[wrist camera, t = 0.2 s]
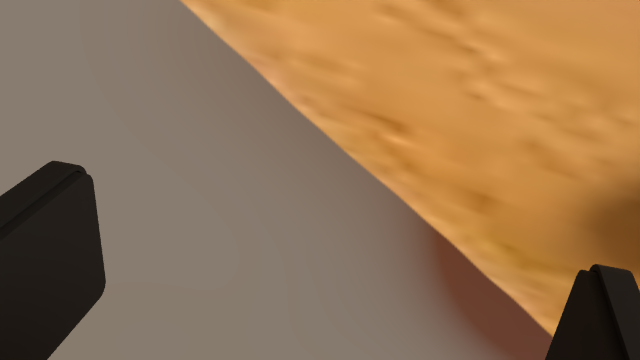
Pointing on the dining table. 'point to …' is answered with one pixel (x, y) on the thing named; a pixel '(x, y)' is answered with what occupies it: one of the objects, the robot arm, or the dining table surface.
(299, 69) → the dining table surface
